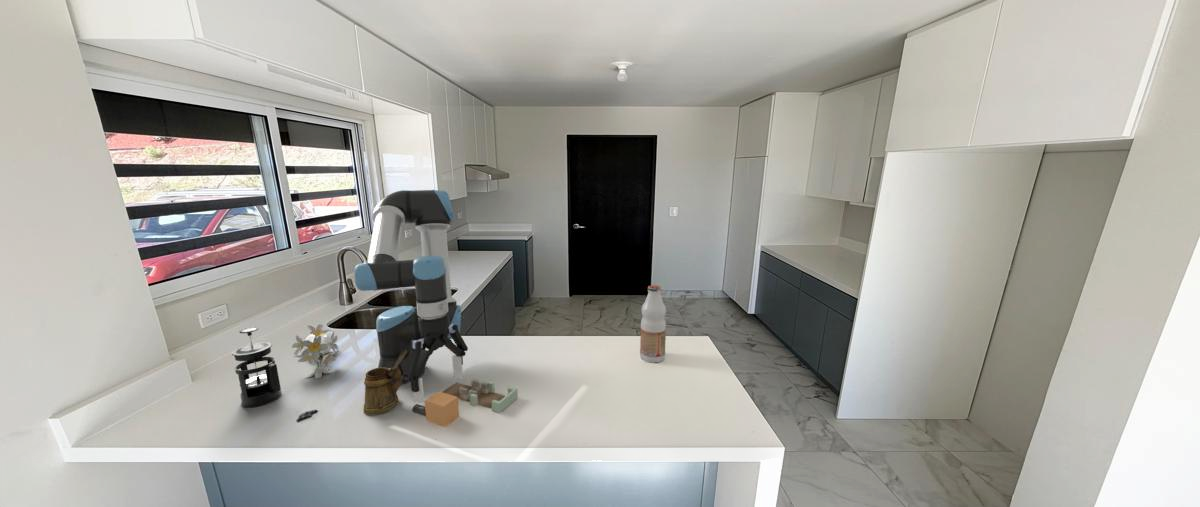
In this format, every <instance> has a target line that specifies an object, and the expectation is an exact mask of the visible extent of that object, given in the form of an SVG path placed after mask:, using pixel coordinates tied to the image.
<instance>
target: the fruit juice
mask: <svg viewBox="0 0 1200 507" xmlns="http://www.w3.org/2000/svg"><path fill="white" fill-rule="evenodd" d="M647 292H648V293H647V296H646V298H645V301H644V303H643V304H642V305H641V315H642V318H641V320H640V339H639V340H640V342H639V343H640V346H639V347H640V348H639V355H640V358H641V359H642V361H644V362H646V361H647V362H648V363H651V362H652V363H653V364H655V362H657V363H660V362H663V361H664V360H665V357H666V339H667V338H666V336H667V333H666V330H667V321H666V318H665V317H666V315H667V308H666V305H665V303H664V301H663V297H662V295H661V292H662V287H661V286H660V285H653V284H652V285H648V287H647ZM662 360H663V361H662Z"/></svg>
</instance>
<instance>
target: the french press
mask: <svg viewBox="0 0 1200 507" xmlns="http://www.w3.org/2000/svg"><path fill="white" fill-rule="evenodd" d="M258 330H259V327H248V328H244V329H241V330H239V333H240V334H246V335H247V336H248V338H249V342H250V344H246V345H243V346H240V347H237V348H236V349H234V350H233V351H232V352H231V355H232V356H233V357H234V359H235V361H237V362H241V363H239V364H237V365H235V367H234V370H235V374H236V375H238V380H239V387H240V390H241V392H240V394H239V395H240V400H241V402H240V406H241V407H242V408H244V409H245V408H246V409H250V408H251V409H252V408H257V407H261V406H264V405H265V406H266V405H268V404H270V403H272V402H274V401H276V400H278V399H279V398H280V397H281V396H282V394H283V393H282V389H281V382H280V377H279V376H280V375H279V372H278V366H277V364H276V361H275V357H273V356H268V355H269V354H270V353H271V352H272V348H271V347H272V346H273V344H272V342H267V341H263V342H261V341H260V342H254V343H253V339H252V336H253V334H252V332H256V331H258ZM258 362H259V363H261V362H267V364H265V365H263V366H260V367H258V366H257V363H258ZM251 364H254V368H251V369H248V365H251ZM263 371H265V373H262V374H259V373H260V372H263ZM251 374H256V375H254V376H251V377H250V375H251Z"/></svg>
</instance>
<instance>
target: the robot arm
mask: <svg viewBox="0 0 1200 507" xmlns="http://www.w3.org/2000/svg"><path fill="white" fill-rule="evenodd" d="M453 212H454V211H453V207H452V203H451V198H450V195H449V193H448V191H446V190H443V189H442V190H440V189H439V190H437V189H426V190H425V189H424V190H422V189H421V190H405V189H404V190H397V191H394V192H392V193H390V194H388V195H386V196H385V197H384V198H382V199H381V200H380V201H379V202H378V203H377V204H376V206H375V207H374V209H373V211H372V222H373V223H374V226H373V230H372V231H373V232H372V236H371V240H370V241H371V242H370V245H369V250H368V255H367V260H366V261H365V262H363V263H358V264H357V265H355V268H354V273H353V275H354V283H355V286H356V288H357V290H359V291H362V292H365V291H367V292H368V291H374V292H376V291H382V290H392V289H400V288H412V287H414V288H415V296H416V297H415V298H416V299H415V300H416V309H415V308H414V306H413V305H402V306H396V307H394V308H393V307H392V308H390V309H387V310H385V311H383V312H382V313H380V314H379V315H378V316H377V318H376V322H375V324H376V328H375V329H376V330H375V331H376V333H377V342H378V348H379V361H378V365H377V368H380V367H386V368H391V367H392V366H393V364H394V363H395V361H396V360H397V359H398V357H399V356H400V355H401V354H402V352H403V351H404V350H407V353H406V354H405V356H404V357H403V359H402V361H401V362H400V363H399V365H398V366H397V367H398V369H399V370H400V372H401V374H402V382H401V385H402V384H406V383H409V382H410V390H411V392H413V398H414V402H417V403H419V404H424V403H425V393H424V383H423V382H424V381H423V378H422V376H423V375H424V373H425V372H426V364H427V363H428V360H429V359H430V356H431V355H433V354H434V352H435V351H437V350H438V349H439V348H440V349H441V348H443V347H445V348H446V349H448V350H449V351H450V352H452V353H453V355H452V357H451V358H452V371H453V378H458V379H463V377H464V375H463V366H464V365H463V364H464V360H463V358H464V357H465V356H466V352H467V351H468V349H469V348H468V345H467V344H466V342H465V340H464V339H463V337H462V335H461V333H460V332H461V319H462V306H461V305H459V304H457V300H456V299H455V298H454V297H453V296H452V287H451V285H452V283H451V276H450V274H451V272H450V271H451V270H450V261H449V260H450V259H449V248H448V236H447V235H448V234H447V231H448V230H449V229H450V228H451V223H453V222H454V221H455V217H454V213H453ZM405 224H414V226H415V227H414V228H415V229H416V230H417V231H418V232H420V243H421V244H420V245H421V256H419V257H417V258H415V259H405V260H399V254H400V243H401V242H400V241H401V233H402V232H401V231H402V227H403V226H404V225H405ZM453 342H454V343H453ZM395 382H396V379H395V377H393V379H392V383H393V384H395Z"/></svg>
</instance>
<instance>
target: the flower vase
mask: <svg viewBox="0 0 1200 507" xmlns="http://www.w3.org/2000/svg"><path fill="white" fill-rule="evenodd" d="M307 328H308V330H309V335H308V336H306V338H305V339H304V340H303V338H302V337H300V336H299V334H296V335H295V340H296V342H295V343H293V344H292V346H291V348H292V349H293V350H295V351H294V353H293V358H298V360H297V362H298V363H304V362H307V361H308V363H309V364H310V365H312V366H317V367H316V368H314V370H312V371H311V372H310V373H309V374H307V375H306V376H305V379H308V378H310V377H311V378H312V377H313V376H314V378H315V379H321V377H322V376H323V374H332V373H333V371H332V370H330V367H327V366H328V362H329V363H333V362H336V360H337V358H336V355H337V354H338V353H339V352H340V350H339V346H338V344H337V343H336V342H337V341H338V335H335V331H334V330H333V331H332V330H329V329H324V325H323V324H318V325H316V327H314V326H313V325H311V324H310V325H307ZM303 349H304V350H303ZM302 350H303V351H302ZM331 350H332V351H333V352H330V351H331ZM301 351H302V352H301ZM300 352H301V354H300ZM299 354H300V355H299ZM321 356H322V357H323V358H322V361H321V360H320V359H319V358H320V357H321ZM319 363H320V364H319ZM321 366H322V367H321Z"/></svg>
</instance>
